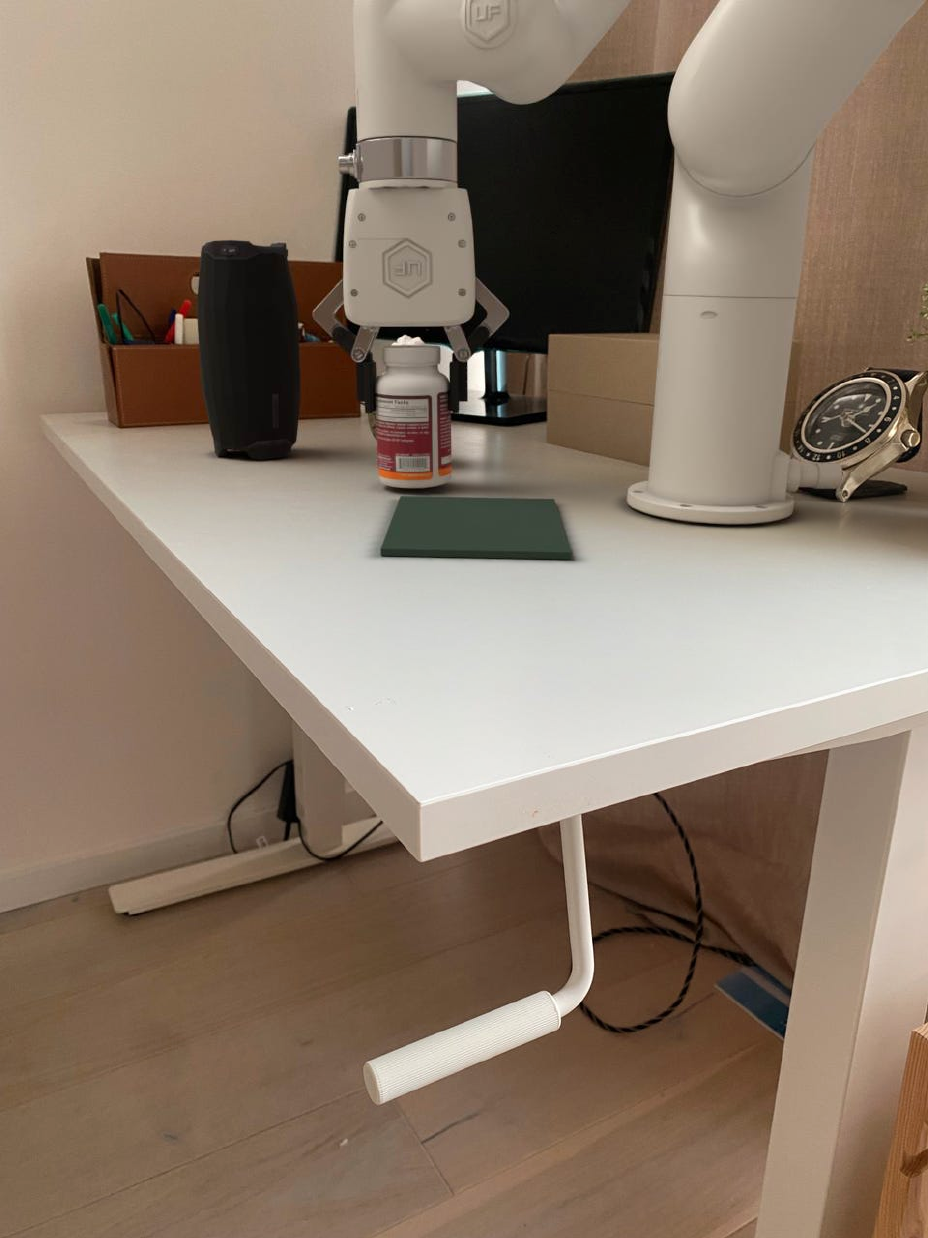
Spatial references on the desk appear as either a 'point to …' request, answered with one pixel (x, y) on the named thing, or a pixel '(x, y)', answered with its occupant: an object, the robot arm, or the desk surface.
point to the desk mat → (476, 528)
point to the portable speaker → (249, 347)
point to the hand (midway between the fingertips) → (413, 409)
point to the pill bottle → (413, 418)
